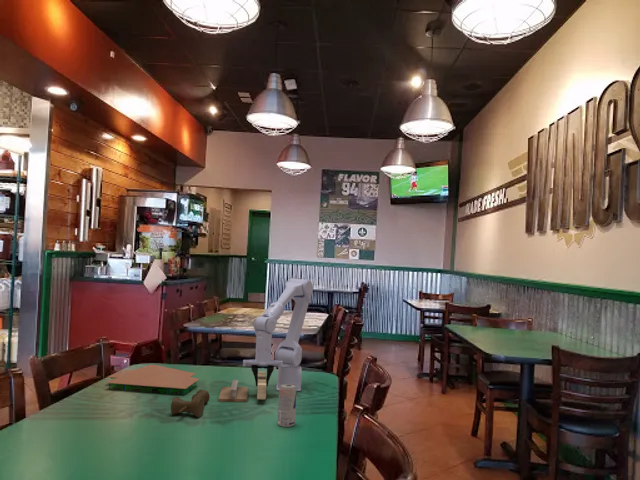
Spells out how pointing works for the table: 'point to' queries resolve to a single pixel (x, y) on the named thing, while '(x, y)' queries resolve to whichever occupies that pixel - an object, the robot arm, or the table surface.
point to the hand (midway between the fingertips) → (261, 385)
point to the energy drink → (287, 405)
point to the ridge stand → (233, 393)
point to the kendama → (191, 404)
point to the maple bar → (261, 385)
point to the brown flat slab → (154, 378)
